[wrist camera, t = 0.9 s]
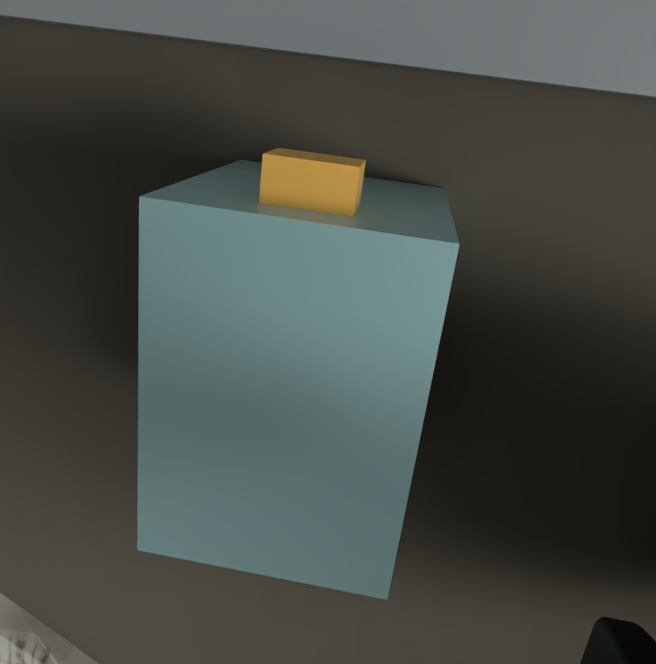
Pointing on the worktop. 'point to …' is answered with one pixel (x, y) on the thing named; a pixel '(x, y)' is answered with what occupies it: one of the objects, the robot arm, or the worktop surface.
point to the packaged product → (33, 640)
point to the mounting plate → (404, 34)
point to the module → (287, 364)
